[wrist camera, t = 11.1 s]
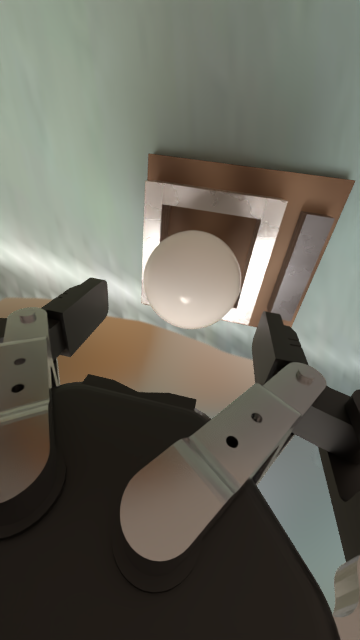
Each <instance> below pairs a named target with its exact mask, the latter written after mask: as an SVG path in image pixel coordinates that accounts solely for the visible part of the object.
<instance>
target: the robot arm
mask: <svg viewBox="0 0 360 640" xmlns="http://www.w3.org/2000/svg"><path fill="white" fill-rule="evenodd" d="M107 313H108V289H107V282H106V281H105V280H101V279H96V278H89V279H88V280H86V281H85V282H83V283H82V284H81V285H77V286H74V287H72V288H69V289H68V290H66V291H65V292H64V293H63V294H61V295H59V296H58V298H57V297H56V298H55V299H53V300H52V301H51V302H49V303H48V304H47V305H45V306H43V307H42V308H24V309H20V310H17V311H15V312H13V313H11V314H10V315H9V316H8V318H0V640H360V390H356V391H355V392H354V393H353V394H352V396H351V397H350V396H348V395H345V394H343V393H341V392H338V391H336V390H334V389H331V388H329V387H328V386H326V380H325V378H324V377H323V376H322V374H321V373H320V372H318V371H317V370H316V369H314V368H313V367H311V366H309V365H308V362H307V360H306V357H305V355H304V352H303V349H302V348H301V344H300V342H299V339H298V336H297V334H296V332H295V331H294V330H293V329H292V328H291V327H290V326H286V325H284V324H283V321H282V318H281V315H280V314H277V313H272V312H267V311H264V312H263V313H262V315H261V318H260V321H259V324H258V327H257V329H256V332H255V335H254V338H253V343H252V355H253V365H254V374H255V384H254V385H253V386H252V387H251V388H249V389H248V390H247V391H246V392H245V393H243V394H242V395H241V396H240V397H238V398H237V399H236V400H235V401H233V402H232V403H231V404H230V405H228V406H227V407H226V408H225V409H224V410H222V411H221V412H220V413H219V414H217V415H216V416H215V417H214V418H212V419H211V418H209V417H208V416H207V415H206V414H204V413H203V412H201V411H199V410H197V409H195V404H196V399H192V398H188V397H184V396H179V395H175V394H171V393H145V392H137V391H135V390H133V389H131V388H129V387H127V386H125V385H123V384H121V383H119V382H117V381H115V380H111V379H107V378H103V377H99V376H94V375H90V374H88V375H87V377H86V378H85V379H84V381H83V382H73V383H67V384H63V385H60V380H59V370H58V361H57V357H58V356H59V355H64V356H68V357H71V356H72V355H73V354H74V353H75V351H76V350H77V349H78V348H79V347H80V346H81V345H82V343H84V341H85V340H86V339H87V338H88V337H89V336H90V335H91V334H92V332H93V331H94V330H95V329H96V328H97V327H98V326H99V324H100V323H101V322H102V321H103V320H104V319H105V317H106V316H107ZM295 435H297V436H300V437H301V438H303V439H305V440H307V441H309V442H311V443H313V444H315V445H316V446H318V448H319V452H320V457H321V461H322V465H323V469H324V473H325V477H326V481H327V485H328V489H329V493H330V498H331V502H332V505H333V510H334V514H335V518H336V522H337V526H338V531H339V535H340V539H341V543H342V547H343V551H344V555H345V559H346V563H344V564H343V565H341V566H340V567H339V568H338V569H337V571H336V574H335V579H334V587H335V608H334V612H333V615H332V612H331V610H330V607H329V605H328V603H327V601H326V598H325V596H324V594H323V592H322V591H321V589H320V587H319V585H318V583H317V582H316V580H315V579H314V577H313V575H312V573H311V572H310V570H309V569H308V567H307V565H306V564H305V562H304V561H303V559H302V558H301V556H300V554H299V553H298V551H297V550H296V548H295V546H294V545H293V543H292V542H291V540H290V538H289V537H288V535H287V534H286V532H285V530H284V529H283V527H282V526H281V524H280V522H279V521H278V519H277V518H276V516H275V514H274V513H273V511H272V510H271V508H270V506H269V505H268V503H267V502H266V500H265V499H264V497H263V495H262V494H261V492H260V491H259V489H258V487H257V484H258V483H259V482H260V481H261V479H262V478H263V476H264V475H265V473H266V472H267V471H268V469H269V468H270V466H271V465H272V464H273V462H274V461H275V460H276V459H277V457H278V456H279V455H280V453H281V452H282V451H283V450H284V448H285V447H286V446H287V444H288V443H289V442H290V441H291V439H292V438H293V437H294V436H295Z"/></svg>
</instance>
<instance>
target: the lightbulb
mask: <svg viewBox="0 0 360 640" xmlns="http://www.w3.org/2000/svg"><path fill="white" fill-rule="evenodd" d="M240 287H241V272H240V267H239V263H238V261H237V258H236V256H235V254H234V253H233V251H232V250H231V248H230V247H229V246H228V245H227V244H226V243H225V242H224V241H222V240H221V239H220V238H218V237H217V236H215V235H213V234H210V233H208V232H204V231H198V230H187V231H181V232H178V233H175V234H173V235H171V236H169V237H167V238H166V239H164V240H163V241H162V242H160V243H159V244H158V245H157V246H156V248H155V249H154V250H153V251H152V253H151V254H150V256H149V258H148V260H147V263H146V266H145V270H144V290H145V294H146V297H147V299H148V302H149V304H150V305H151V307H152V308H153V310H154V311H155V312H156V313H157V314H158V315H159V316H160V317H161V318H162V319H163V320H165V321H166V322H168V323H170V324H172V325H174V326H177V327H180V328H185V329H199V328H204V327H207V326H210V325H212V324H214V323H216V322H218V321H219V320H221V319H222V318H223V317H224V316H225V315H227V313H228V312H229V311H230V310H231V309H232V307H233V306H234V304H235V302H236V300H237V298H238V295H239V292H240Z"/></svg>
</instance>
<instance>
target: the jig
mask: <svg viewBox="0 0 360 640" xmlns="http://www.w3.org/2000/svg"><path fill="white" fill-rule="evenodd" d="M354 183H355V181H354V180H346V179H339V178H331V177H324V176H316V175H308V174H301V173H293V172H285V171H278V170H270V169H263V168H255V167H247V166H240V165H232V164H224V163H217V162H209V161H202V160H194V159H186V158H179V157H171V156H163V155H156V154H149V155H148V181H145V203H144V234H143V264H142V294H141V303H143V304H145V305H150V304H149V302H148V299H147V297H146V294H145V290H144V270H145V266H146V263H147V260H148V258H149V256H150V254H151V253H152V251H153V250H154V249H155V248H156V246H157V245H158V244H159V243H160V242H162V241H163V240H164V239H166V238H167V237H169V236H171V235H173V234H175V233H178V232H181V231H187V230H198V231H204V232H208V233H210V234H213V235H215V236H217V237H218V238H220V239H221V240H222V241H224V242H225V243H226V244H227V245H228V246H229V247H230V248H231V250H232V251H233V253H234V254H235V256H236V258H237V261H238V263H239V267H240V272H241V287H240V292H239V295H238V298H237V300H236V302H235V304H234V306H233V307H232V309H231V310H230V311H229V312H228V313H227V315H225V316H224V317H223V318H222V319H221V320H224V321H229V322H234V323H238V324H243V325H248V326H253V327H258V324H259V321H260V318H261V315H262V313H263V312H264V311H267V312H272V313H277V314H280V315H281V318H282V321H283V324H284V325H286V326H290V327H292V324H293V322H294V320H295V317H296V315H297V313H298V311H299V308H300V306H301V304H302V301H303V299H304V297H305V295H306V292H307V290H308V288H309V285H310V283H311V281H312V279H313V276H314V274H315V272H316V269H317V267H318V265H319V263H320V260H321V258H322V256H323V253H324V251H325V249H326V247H327V244H328V242H329V240H330V237H331V235H332V233H333V231H334V228H335V226H336V224H337V221H338V219H339V217H340V215H341V212H342V210H343V208H344V205H345V203H346V201H347V199H348V196H349V194H350V192H351V190H352V187H353V185H354ZM150 306H151V305H150Z"/></svg>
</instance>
